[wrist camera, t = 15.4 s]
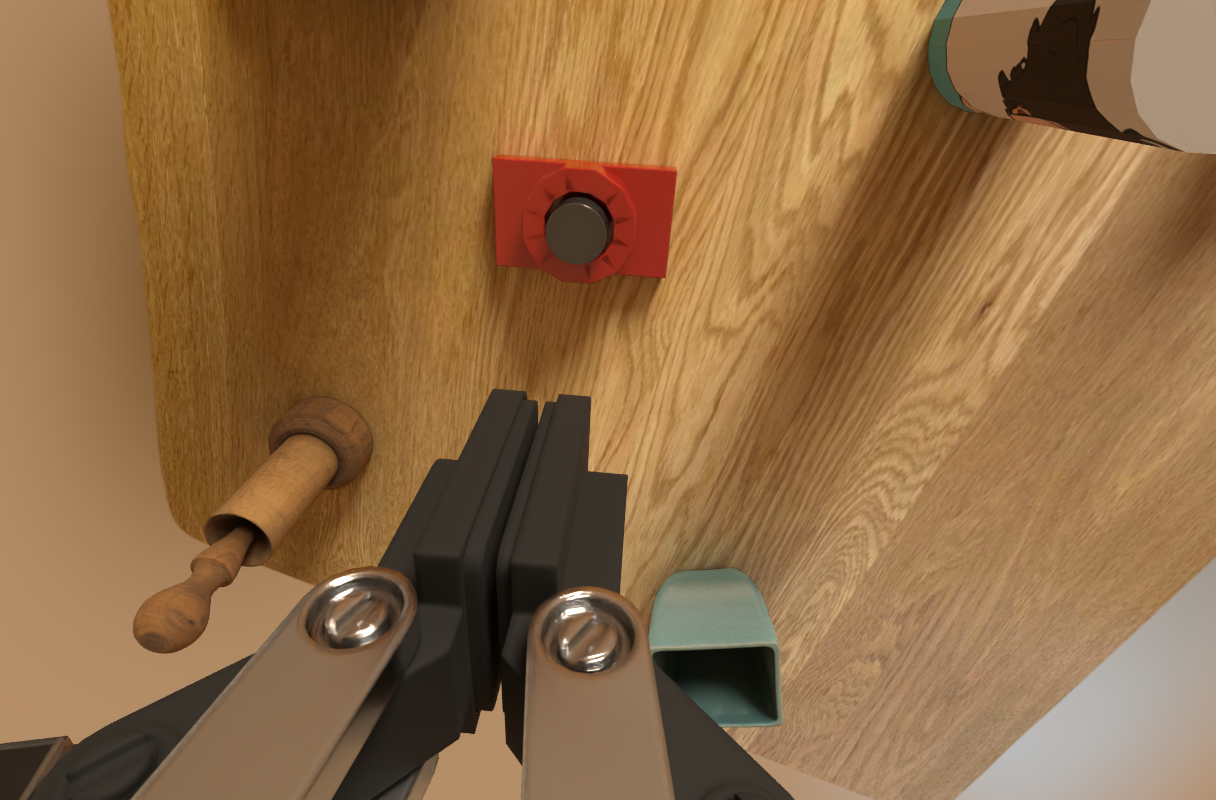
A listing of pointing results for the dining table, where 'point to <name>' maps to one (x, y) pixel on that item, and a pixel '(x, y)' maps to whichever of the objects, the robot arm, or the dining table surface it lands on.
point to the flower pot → (719, 646)
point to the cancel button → (577, 230)
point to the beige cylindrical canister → (1084, 66)
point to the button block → (622, 191)
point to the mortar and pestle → (260, 514)
